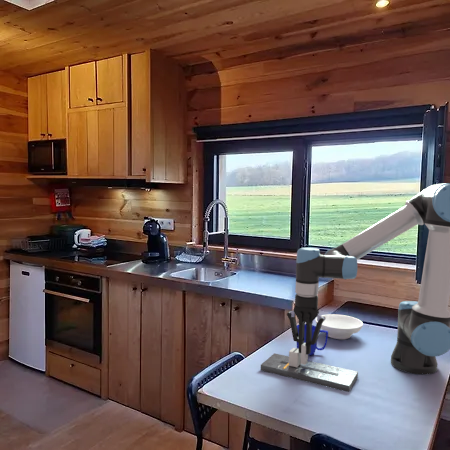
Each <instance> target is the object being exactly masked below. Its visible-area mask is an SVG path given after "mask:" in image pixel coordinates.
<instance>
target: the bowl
mask: <svg viewBox="0 0 450 450" xmlns="http://www.w3.org/2000/svg"><path fill="white" fill-rule="evenodd" d="M320 315H321V314H320ZM321 316H322V317H323V316H324V317H325V320H324V322H323V323H322V326H321V329H320V330H325V331H328V337H329V338H331V339H335V340H336V339H337V340H347V339H349V338H351V337H352V335H353V334H357V333H358V332H360V331H361V329H362V328H363V325H364V323H363V321H362V320H360V319H359V318H356V317H353V316H351V315H350V316H349V315H344V314H333V313H331V314H322V315H321ZM314 320H315V323H316V324H317V322H318V321H317V317H316V318H315V319H314ZM316 324H315V325H316Z"/></svg>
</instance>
